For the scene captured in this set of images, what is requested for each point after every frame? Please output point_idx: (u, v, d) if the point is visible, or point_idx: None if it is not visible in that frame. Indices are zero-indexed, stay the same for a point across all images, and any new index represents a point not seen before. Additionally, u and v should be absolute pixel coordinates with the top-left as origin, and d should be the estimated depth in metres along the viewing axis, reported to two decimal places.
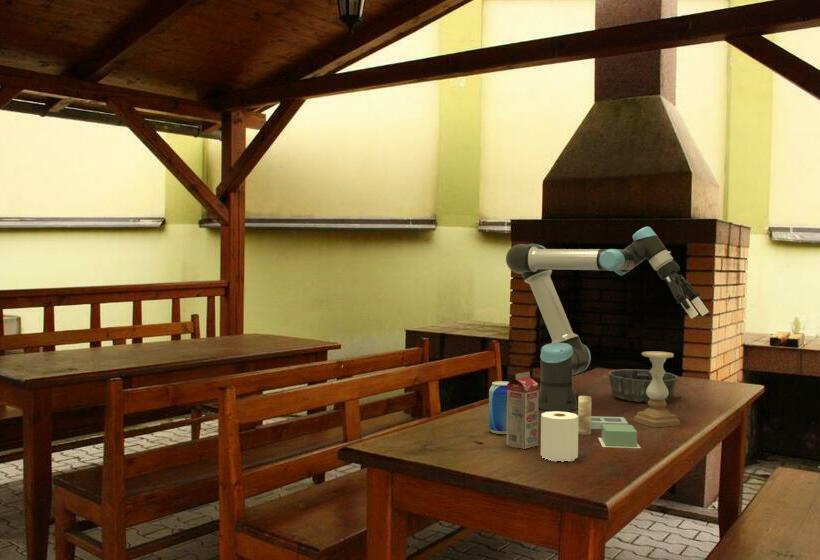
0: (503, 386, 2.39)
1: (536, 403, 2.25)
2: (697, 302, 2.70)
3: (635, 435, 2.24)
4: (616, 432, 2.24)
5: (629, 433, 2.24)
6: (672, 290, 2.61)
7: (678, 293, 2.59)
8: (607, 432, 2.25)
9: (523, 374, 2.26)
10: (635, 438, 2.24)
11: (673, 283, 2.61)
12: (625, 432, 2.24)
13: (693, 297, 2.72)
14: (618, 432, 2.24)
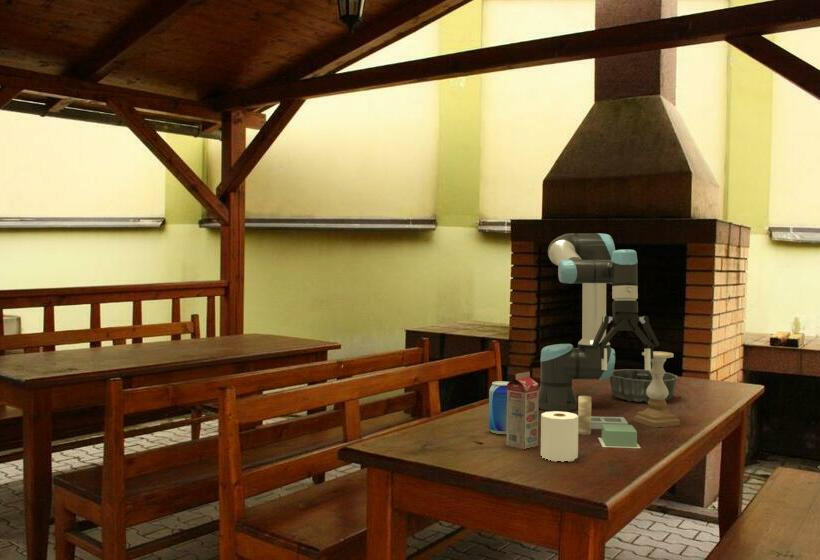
0: (503, 386, 2.39)
1: (536, 403, 2.25)
2: (646, 354, 2.31)
3: (635, 435, 2.24)
4: (616, 432, 2.24)
5: (629, 433, 2.24)
6: (597, 332, 2.31)
7: (596, 339, 2.30)
8: (607, 432, 2.25)
9: (523, 374, 2.26)
10: (635, 438, 2.24)
11: (602, 326, 2.30)
12: (625, 432, 2.24)
13: (648, 346, 2.32)
14: (618, 432, 2.24)
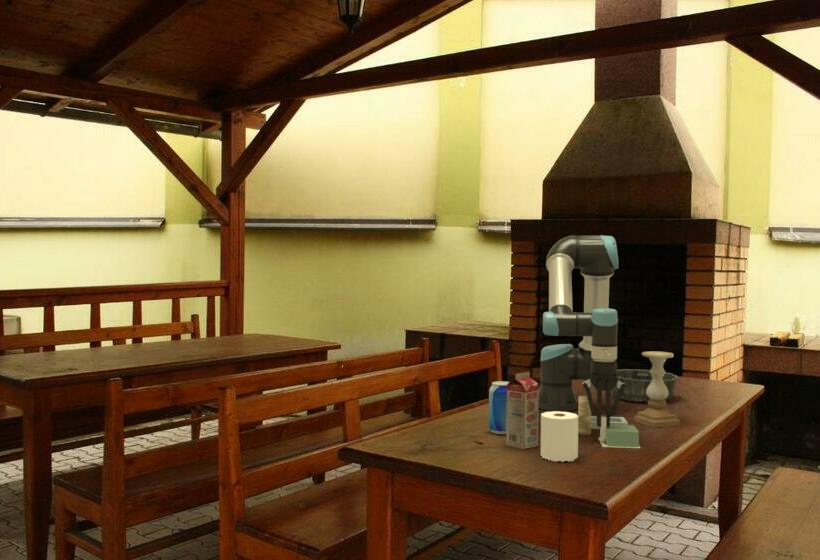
0: (503, 386, 2.39)
1: (536, 403, 2.25)
2: None
3: (637, 435, 2.24)
4: (618, 432, 2.24)
5: (631, 433, 2.24)
6: None
7: (590, 408, 2.29)
8: (609, 432, 2.25)
9: (523, 374, 2.26)
10: (637, 438, 2.24)
11: (586, 393, 2.29)
12: (627, 432, 2.24)
13: (606, 412, 2.29)
14: (620, 432, 2.24)
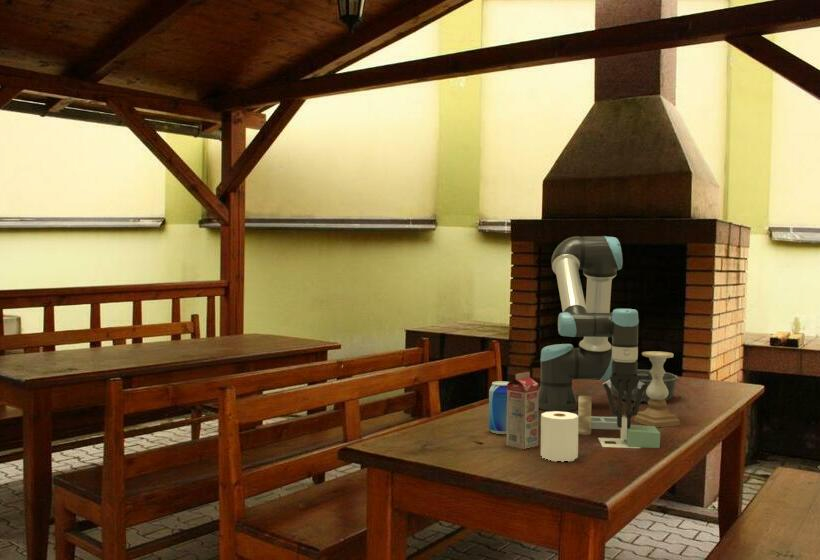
0: (503, 386, 2.39)
1: (536, 403, 2.25)
2: None
3: (658, 436, 2.23)
4: (639, 433, 2.23)
5: (652, 434, 2.23)
6: (608, 400, 2.29)
7: (610, 409, 2.28)
8: (630, 432, 2.24)
9: (523, 374, 2.26)
10: (658, 439, 2.23)
11: (607, 394, 2.28)
12: (648, 433, 2.23)
13: (626, 413, 2.28)
14: (641, 433, 2.23)
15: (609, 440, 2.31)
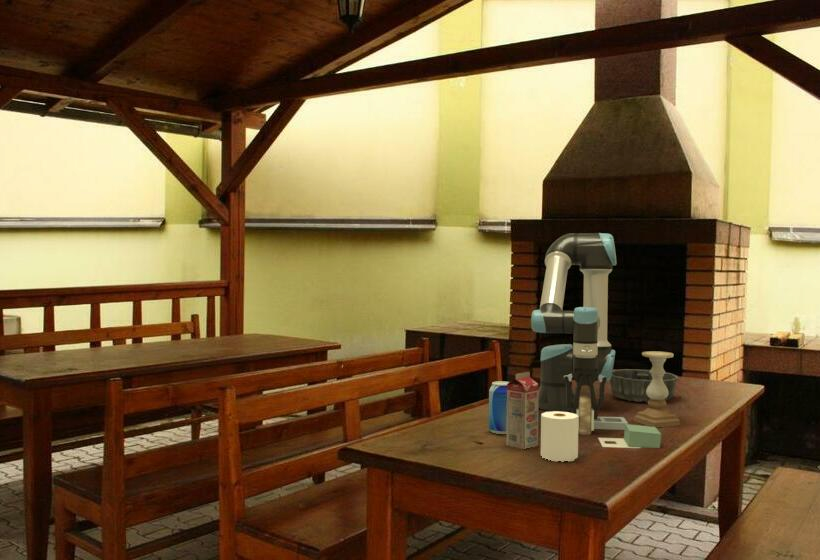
0: (503, 386, 2.39)
1: (536, 403, 2.25)
2: (591, 414, 2.40)
3: (659, 437, 2.23)
4: (640, 433, 2.23)
5: (653, 435, 2.23)
6: (566, 392, 2.42)
7: (566, 401, 2.40)
8: (631, 432, 2.24)
9: (523, 374, 2.26)
10: (659, 440, 2.23)
11: (566, 387, 2.40)
12: (649, 433, 2.23)
13: None
14: (642, 433, 2.23)
15: (609, 440, 2.31)
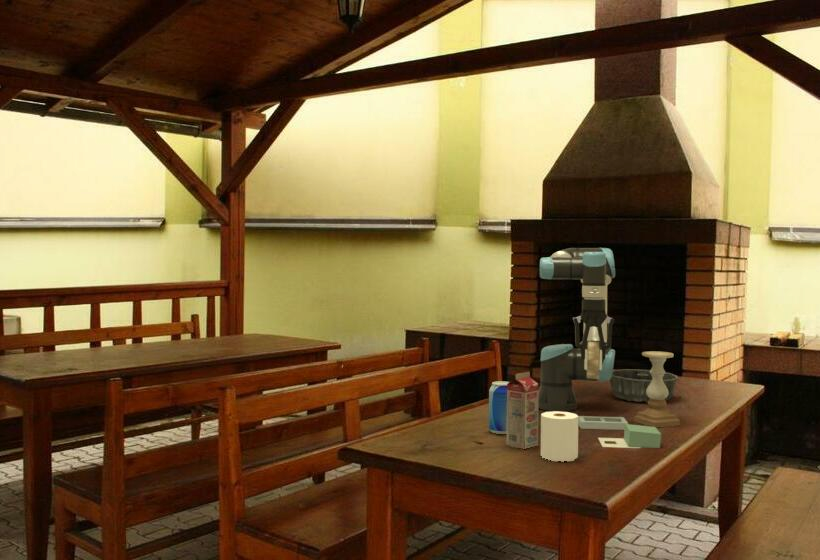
0: (503, 386, 2.39)
1: (536, 403, 2.25)
2: (599, 354, 2.50)
3: (659, 437, 2.23)
4: (640, 433, 2.23)
5: (653, 435, 2.23)
6: (575, 334, 2.51)
7: (575, 341, 2.50)
8: (631, 432, 2.24)
9: (523, 374, 2.26)
10: (659, 440, 2.23)
11: (575, 328, 2.50)
12: (649, 433, 2.23)
13: None
14: (642, 433, 2.23)
15: (609, 440, 2.31)
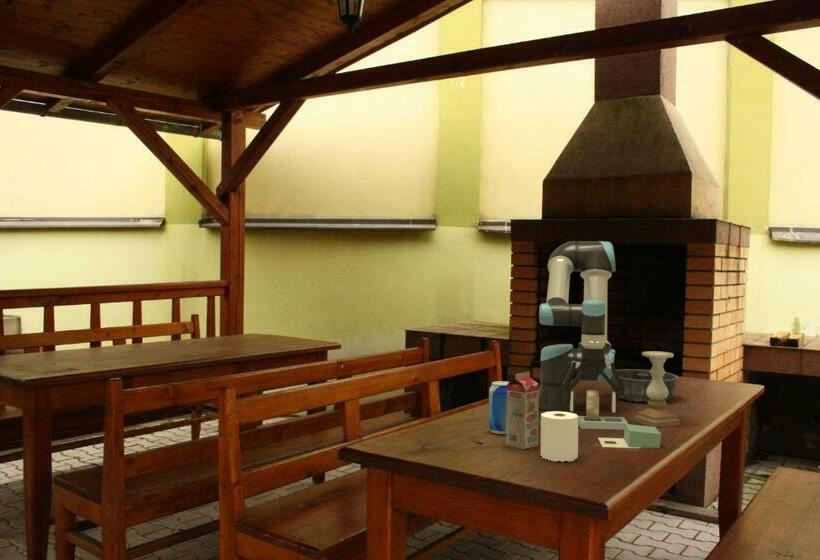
0: (503, 386, 2.39)
1: (536, 403, 2.25)
2: (612, 397, 2.50)
3: (659, 437, 2.23)
4: (640, 433, 2.23)
5: (653, 435, 2.23)
6: (566, 376, 2.52)
7: (563, 383, 2.51)
8: (631, 432, 2.24)
9: (523, 374, 2.26)
10: (659, 440, 2.23)
11: (570, 371, 2.51)
12: (649, 433, 2.23)
13: (614, 389, 2.50)
14: (642, 433, 2.23)
15: (609, 440, 2.31)
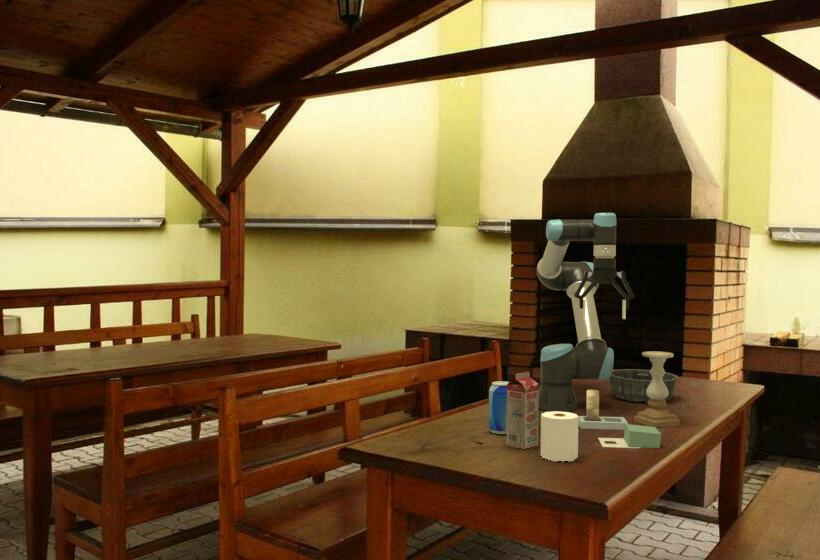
0: (503, 386, 2.39)
1: (536, 403, 2.25)
2: (623, 304, 2.63)
3: (659, 437, 2.23)
4: (640, 433, 2.23)
5: (653, 435, 2.23)
6: (579, 285, 2.65)
7: (576, 291, 2.64)
8: (631, 432, 2.24)
9: (523, 374, 2.26)
10: (659, 440, 2.23)
11: (582, 280, 2.64)
12: (649, 433, 2.23)
13: (625, 298, 2.63)
14: (642, 433, 2.23)
15: (609, 440, 2.31)
